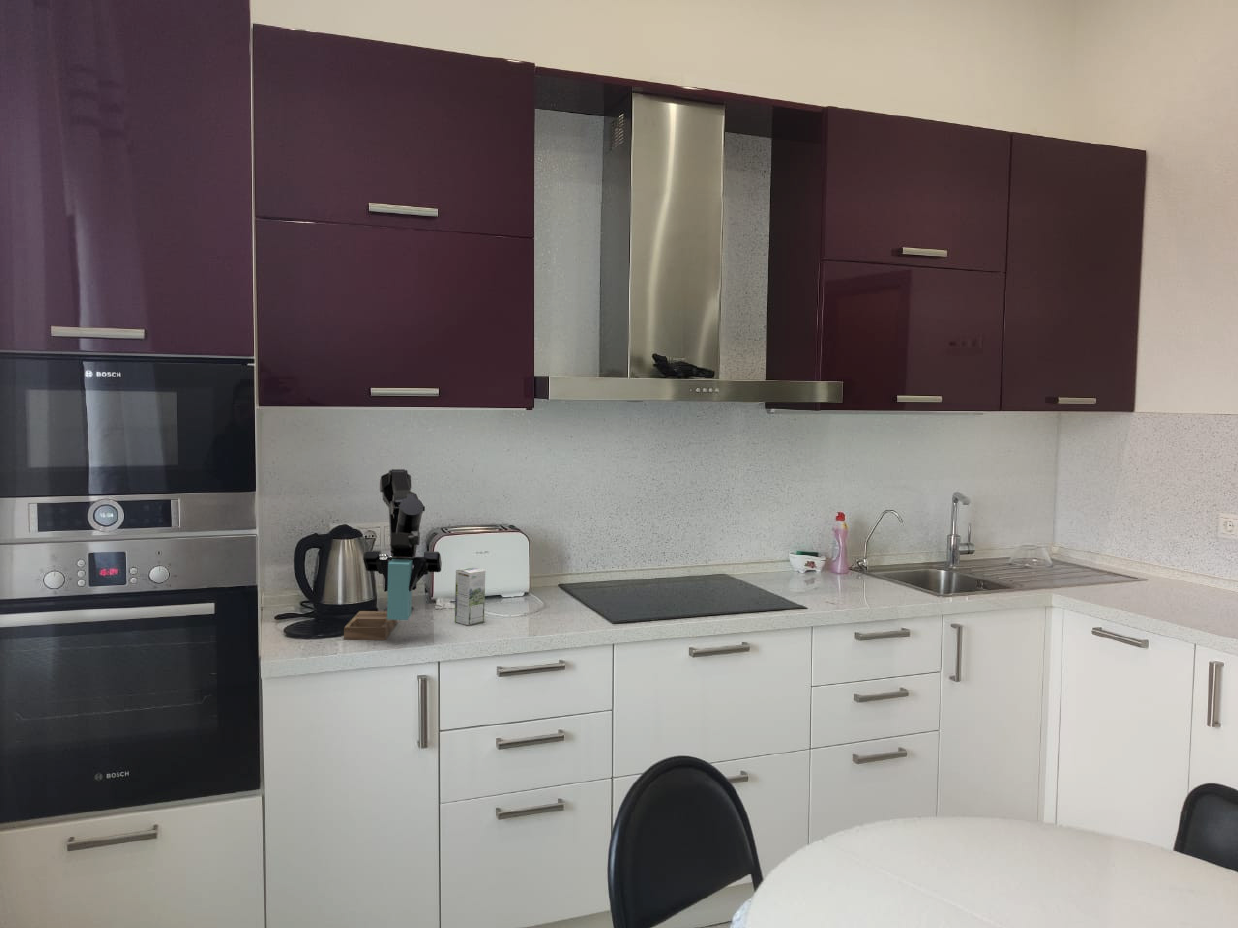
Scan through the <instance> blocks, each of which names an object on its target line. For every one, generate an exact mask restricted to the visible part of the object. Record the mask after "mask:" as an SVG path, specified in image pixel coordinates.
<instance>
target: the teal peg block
mask: <svg viewBox="0 0 1238 928" xmlns="http://www.w3.org/2000/svg"><path fill="white" fill-rule="evenodd" d="M413 566H414V565H413V560H406V559H392V560H391V561H390V562H389V563H388V591H386V592H387V593H386V595H387V599H386V600H387V601H386V606H387V607H386V609H387V619H389V620H397V621H408V620H409V619H410V617H411V615H412V610H411V607H413V606H412V599H413V597H412V596H413V590H412V591H409V585H410V580H411V576H412V567H413Z"/></svg>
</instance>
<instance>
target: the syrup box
mask: <svg viewBox="0 0 1238 928" xmlns="http://www.w3.org/2000/svg"><path fill="white" fill-rule="evenodd" d="M454 590H455V591H454V592H455V593H454V594H455V596H454V622H455V623H457V624H462V625H465V626H472V625H476V624H480V623H481V624H482V623H484V622H485V603H486V602H485V600H486V598H485V597H486V570H485V569H483V568H479V567H474V566H473V567H465V568H461V569H460V568H459V569H455V589H454Z"/></svg>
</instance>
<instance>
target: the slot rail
mask: <svg viewBox="0 0 1238 928" xmlns="http://www.w3.org/2000/svg"><path fill="white" fill-rule="evenodd" d="M397 624H398V620H389V619H387V611H384V610H379V611H378V610H377V611H374V610H359V611H358V612H357V613H356V614H355V616H353V617H352V619H351V620H350V621H349V622H348V623H347V624H346V625H345V626H344V627H343V640H345V641H346V640H347V641H349V640H350V641H351V640H352V641H353V640H361V641H362V640H365V641H369V640H371V641H373V640H374V641H375V640H376V641H382V640H383V641H385V640H386V639H387V637H389V635H390V633H391V632H392V630H393V629H394V627H395V626H396V625H397Z"/></svg>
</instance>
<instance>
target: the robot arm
mask: <svg viewBox="0 0 1238 928" xmlns="http://www.w3.org/2000/svg"><path fill="white" fill-rule="evenodd" d="M411 490H412V475H411V474H409V473H408V470H407V469H405V468H402V469H401V468H400V469H399V468H398V469H397V468H395V469H394V468H392V469H391V470H388V472H387V473H385V474H383V475H381V476H380V479H379V492H380V493H381V495H382V501H383V503H384V504H386V506H387V507H388V520H389V521H388V522H389V526H388V527H389V547H390V551H389V552H390V555H388V554H383V553H382V551H381V550H366V551H365V552H364V553H363V558H362V560H363V563H364V567H365V570H366V571H367V572H378V574H379V575H382V590H383V592H384V593H385V592H387V591H388V563H389V562H390V561H391V560H392V559H406V560H413V567H412V576H411V580H410V585H409V591H412V592H413V591H415V590H416V589H417V583H418V582H419V581H420V579H421V578H422V577H423V576H424V575H429V574H428V573H440V572H442V563H443V562H442V555H441V553H440V552H439V551H431V550H430V551H424V552H423V556H417V555H416V554H417V549H418V548H417V547H418V546H419V545H420V541H421V539H420V537H421V536H420V535H421V532H420V526H421V521H422V516H423V513H424V512H425V510H426V506H425V505H424V504H423V503H422V500H420V499H419V497H418V494H416V493H415V492H413V491H411ZM413 610H414V607H413V606H412V607H411V611H413ZM383 611H387V608H386V609H384V610H383Z"/></svg>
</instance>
